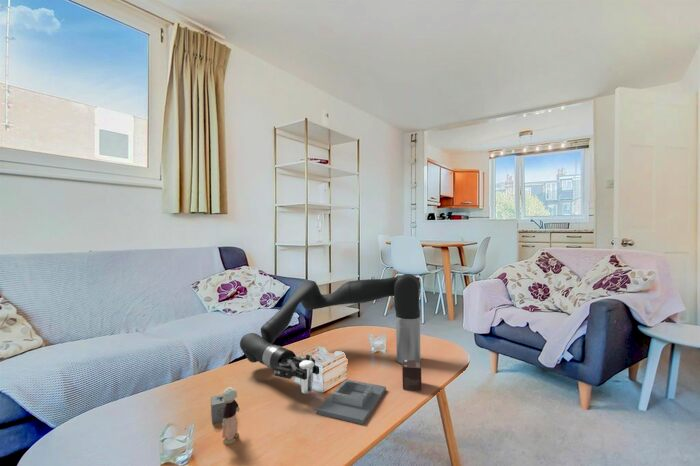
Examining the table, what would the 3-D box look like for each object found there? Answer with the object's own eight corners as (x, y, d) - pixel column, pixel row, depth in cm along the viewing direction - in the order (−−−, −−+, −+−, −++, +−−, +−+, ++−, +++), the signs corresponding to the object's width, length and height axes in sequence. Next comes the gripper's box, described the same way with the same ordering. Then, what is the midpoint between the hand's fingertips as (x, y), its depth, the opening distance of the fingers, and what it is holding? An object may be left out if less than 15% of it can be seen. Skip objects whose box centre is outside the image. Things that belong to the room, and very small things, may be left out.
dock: (345, 382, 111) (345, 371, 111) (385, 390, 105) (385, 378, 105) (316, 413, 92) (316, 400, 92) (363, 424, 87) (362, 410, 87)
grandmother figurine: (226, 430, 85) (225, 381, 85) (242, 429, 85) (241, 380, 85) (217, 450, 77) (216, 396, 77) (234, 449, 78) (233, 395, 78)
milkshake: (317, 388, 102) (318, 355, 102) (310, 395, 97) (310, 361, 97) (304, 385, 104) (304, 353, 104) (296, 393, 99) (296, 359, 99)
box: (421, 391, 104) (421, 368, 104) (402, 389, 105) (402, 366, 105) (421, 382, 110) (421, 360, 110) (403, 381, 111) (402, 359, 111)
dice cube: (229, 410, 95) (229, 392, 95) (231, 419, 91) (231, 400, 91) (211, 414, 93) (210, 396, 93) (212, 424, 88) (211, 405, 88)
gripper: (259, 353, 105) (292, 368, 93) (295, 341, 115) (329, 353, 104) (260, 377, 105) (293, 395, 93) (296, 363, 115) (330, 377, 104)
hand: (312, 373), depth 99 cm, fingers closed on milkshake, 4 cm apart
